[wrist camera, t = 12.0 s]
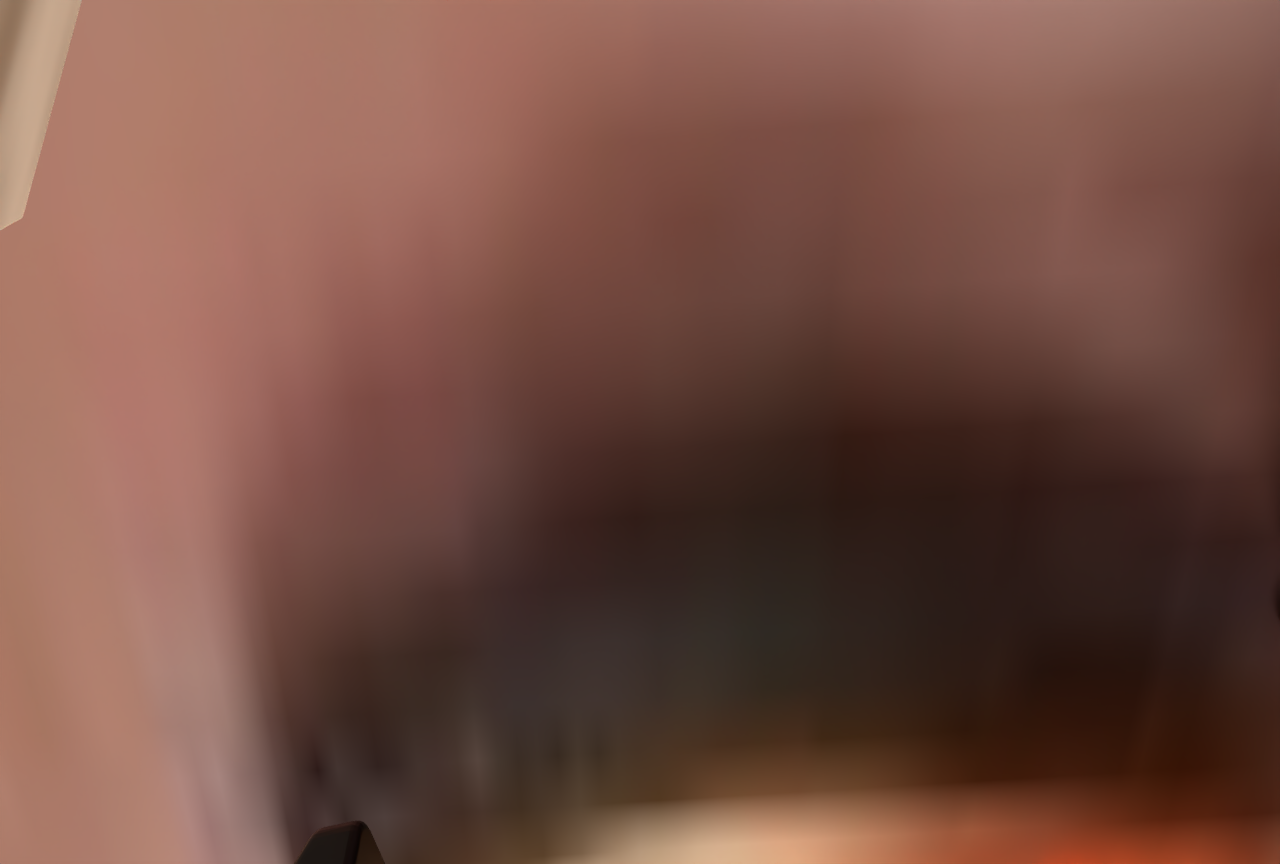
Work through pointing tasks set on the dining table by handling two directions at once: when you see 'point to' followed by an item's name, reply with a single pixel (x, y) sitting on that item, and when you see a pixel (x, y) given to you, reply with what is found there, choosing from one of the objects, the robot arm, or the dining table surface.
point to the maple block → (28, 90)
